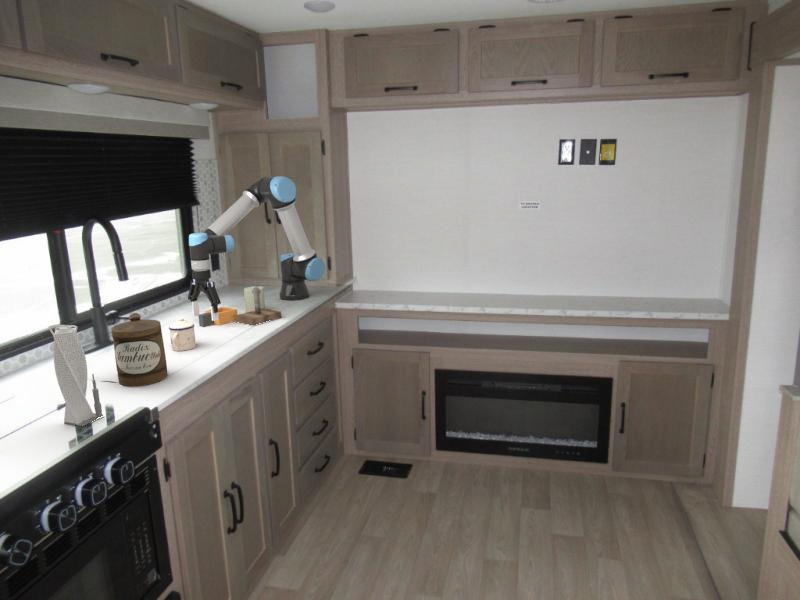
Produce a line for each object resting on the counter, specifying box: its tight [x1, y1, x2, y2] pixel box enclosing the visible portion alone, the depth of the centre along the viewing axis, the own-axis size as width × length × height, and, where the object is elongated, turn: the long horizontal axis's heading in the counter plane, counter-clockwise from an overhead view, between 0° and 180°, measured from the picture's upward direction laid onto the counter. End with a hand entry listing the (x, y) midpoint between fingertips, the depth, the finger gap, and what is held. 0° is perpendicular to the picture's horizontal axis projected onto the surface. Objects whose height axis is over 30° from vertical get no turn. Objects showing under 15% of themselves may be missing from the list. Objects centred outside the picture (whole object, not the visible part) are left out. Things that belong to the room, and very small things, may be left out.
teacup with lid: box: [168, 317, 197, 352], centre depth 223 cm, size 12×9×12 cm
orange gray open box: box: [197, 306, 239, 328], centre depth 261 cm, size 16×10×5 cm, turn 143°
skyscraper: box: [47, 324, 104, 428], centre depth 159 cm, size 8×8×28 cm
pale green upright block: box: [243, 285, 266, 313], centre depth 277 cm, size 9×9×12 cm
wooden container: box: [111, 312, 169, 387], centre depth 191 cm, size 15×15×22 cm
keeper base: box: [234, 287, 282, 326], centre depth 262 cm, size 16×12×15 cm
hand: (205, 318), depth 257 cm, fingers open, 13 cm apart
